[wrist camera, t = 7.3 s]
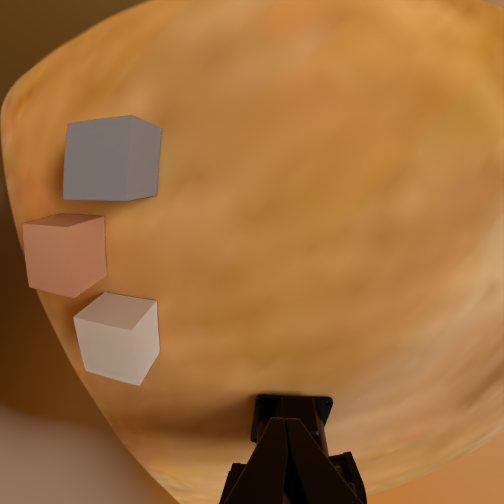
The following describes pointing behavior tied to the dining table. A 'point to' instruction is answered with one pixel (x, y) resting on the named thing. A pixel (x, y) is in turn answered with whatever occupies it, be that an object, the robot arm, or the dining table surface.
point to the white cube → (118, 337)
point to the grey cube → (111, 159)
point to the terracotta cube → (65, 253)
